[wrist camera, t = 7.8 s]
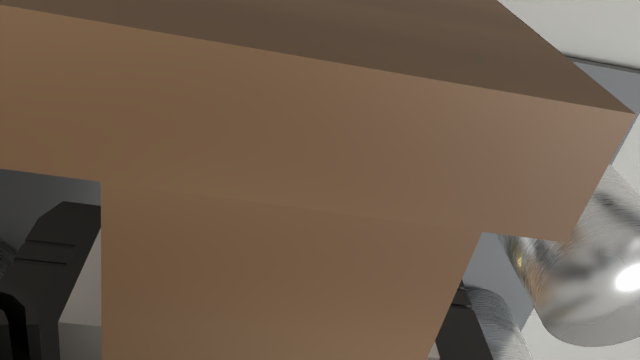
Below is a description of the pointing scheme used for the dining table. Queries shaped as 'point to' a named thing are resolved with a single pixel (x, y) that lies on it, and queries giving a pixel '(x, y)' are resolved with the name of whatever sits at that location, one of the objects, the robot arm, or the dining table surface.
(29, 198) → the mat
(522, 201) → the wooden arch bridge
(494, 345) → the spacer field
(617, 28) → the dining table surface
